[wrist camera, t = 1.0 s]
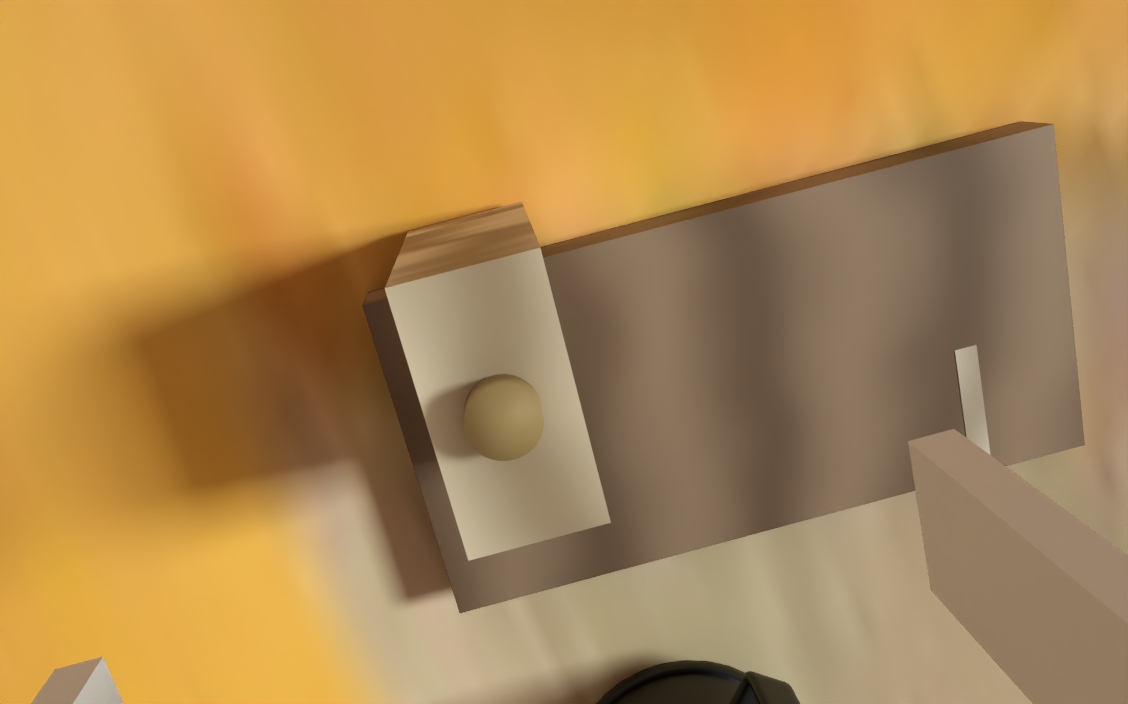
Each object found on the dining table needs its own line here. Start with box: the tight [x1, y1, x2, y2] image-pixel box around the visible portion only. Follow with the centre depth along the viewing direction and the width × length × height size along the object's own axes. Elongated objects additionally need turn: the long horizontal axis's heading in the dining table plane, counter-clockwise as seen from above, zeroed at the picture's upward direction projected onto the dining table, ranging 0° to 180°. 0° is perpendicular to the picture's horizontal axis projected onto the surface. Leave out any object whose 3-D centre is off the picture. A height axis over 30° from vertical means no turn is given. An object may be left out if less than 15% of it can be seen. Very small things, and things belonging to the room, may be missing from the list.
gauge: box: [385, 202, 611, 561], centre depth 29 cm, size 4×8×10 cm, turn 14°
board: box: [363, 122, 1085, 613], centre depth 35 cm, size 24×12×2 cm, turn 104°
